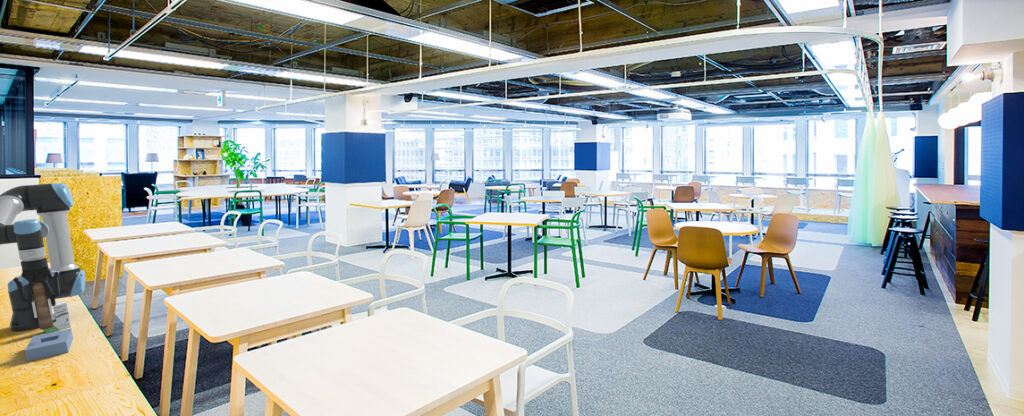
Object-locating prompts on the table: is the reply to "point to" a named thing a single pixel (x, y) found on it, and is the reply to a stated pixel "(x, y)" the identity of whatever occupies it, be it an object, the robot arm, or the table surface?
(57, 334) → the socket block
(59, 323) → the ink box
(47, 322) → the peg
